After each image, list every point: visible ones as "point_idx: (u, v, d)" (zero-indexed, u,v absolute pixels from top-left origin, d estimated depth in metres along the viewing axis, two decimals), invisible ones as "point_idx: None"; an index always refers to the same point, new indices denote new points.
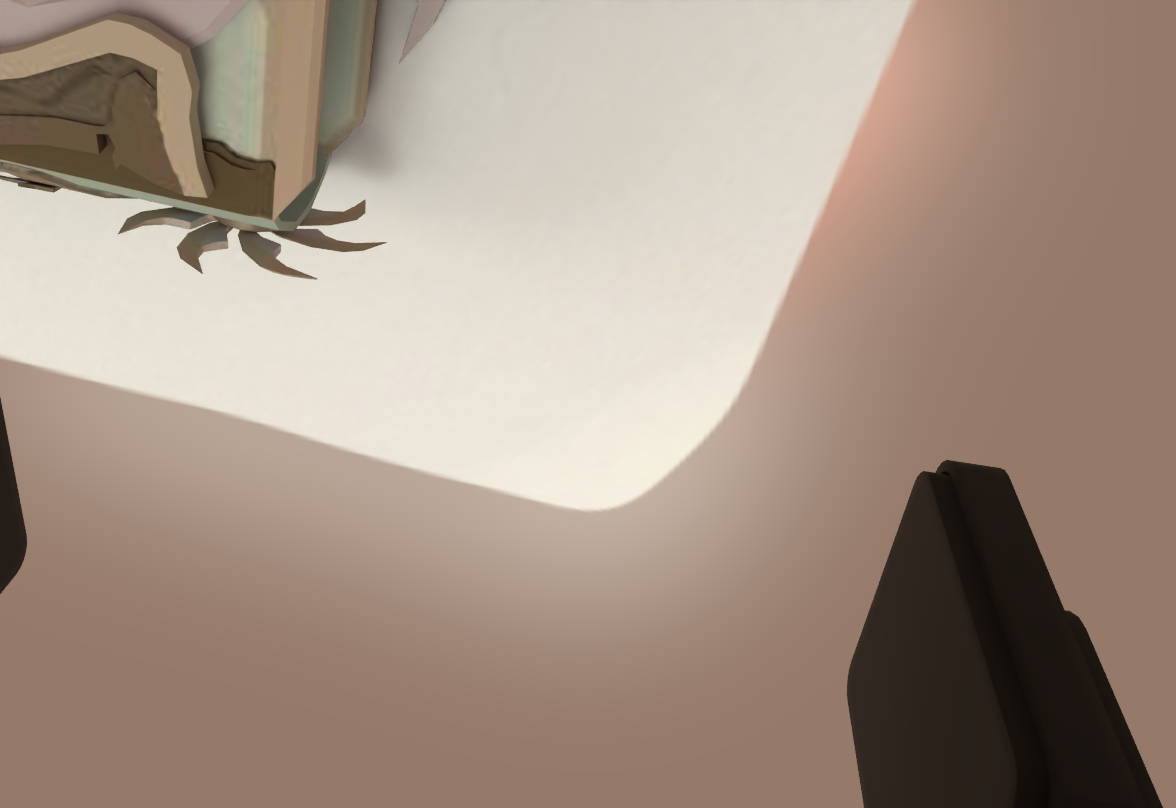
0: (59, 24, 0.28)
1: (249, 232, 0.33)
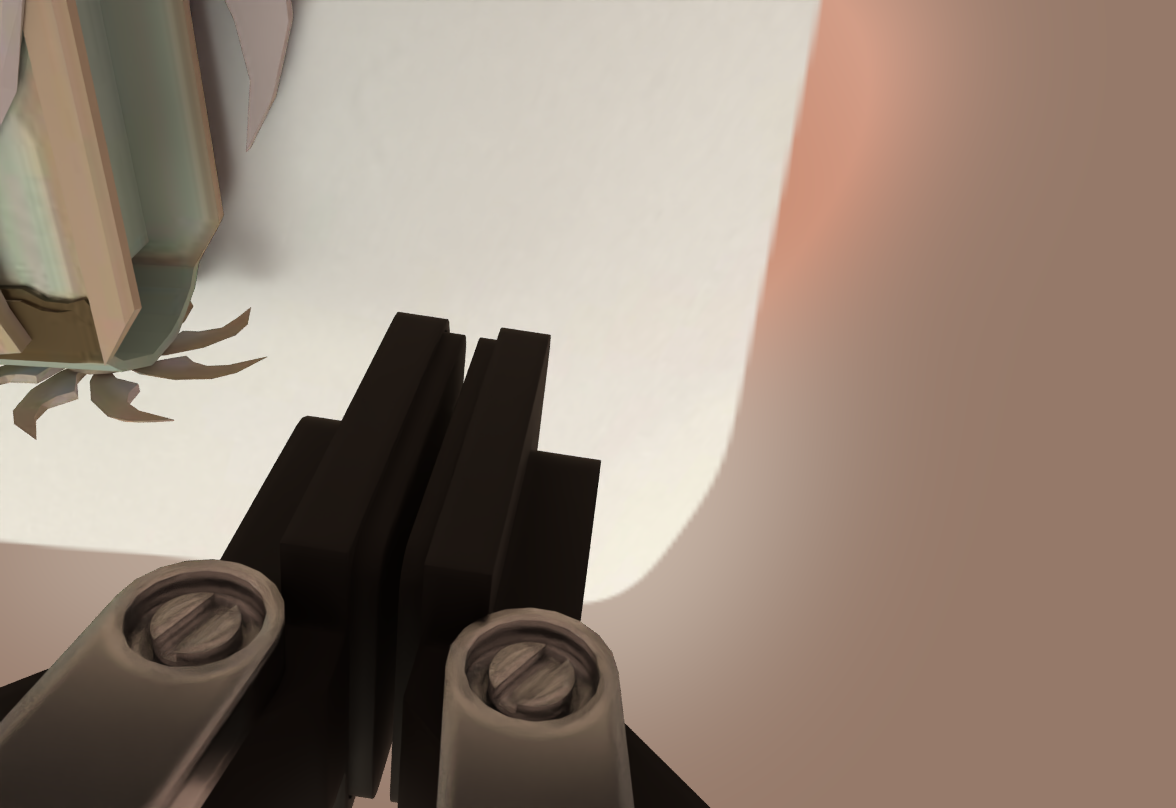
0: None
1: (103, 375, 0.28)
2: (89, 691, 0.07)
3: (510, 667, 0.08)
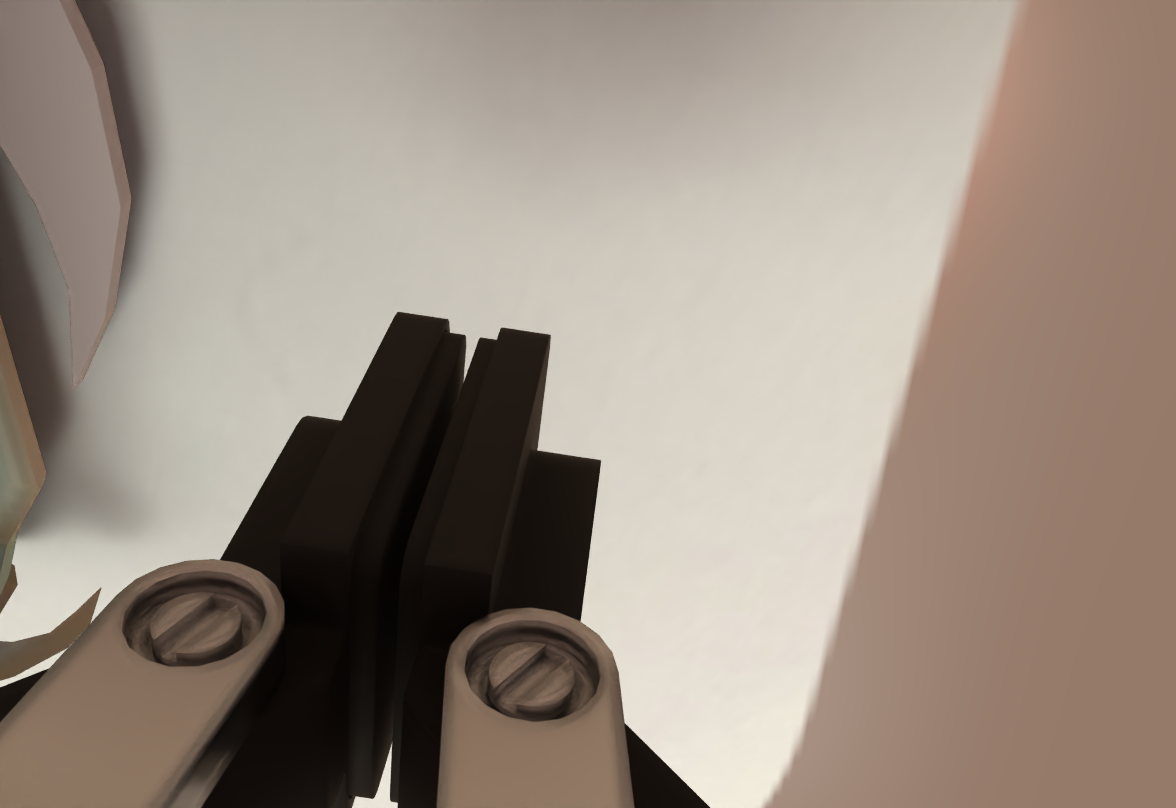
0: None
1: None
2: (89, 692, 0.07)
3: (511, 667, 0.08)
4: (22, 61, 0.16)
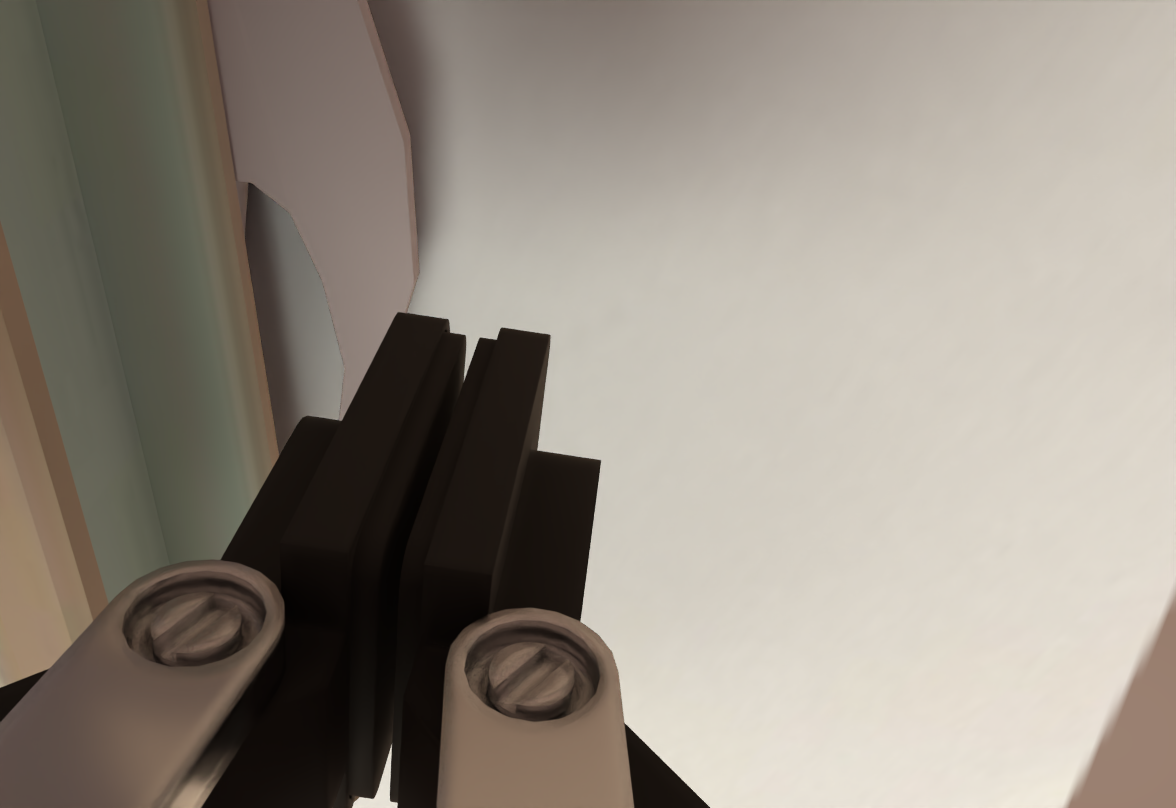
0: None
1: None
2: (89, 691, 0.07)
3: (510, 667, 0.08)
4: (329, 133, 0.15)
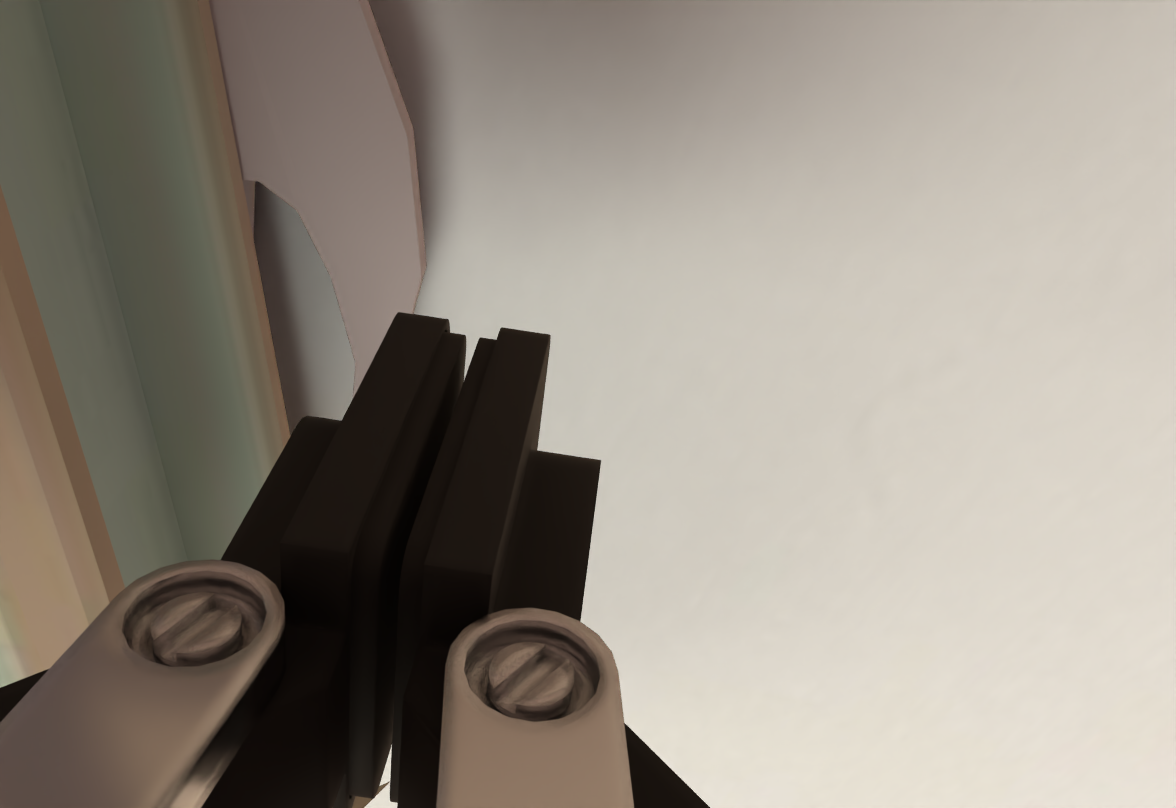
0: None
1: None
2: (89, 691, 0.07)
3: (510, 667, 0.08)
4: (333, 129, 0.15)
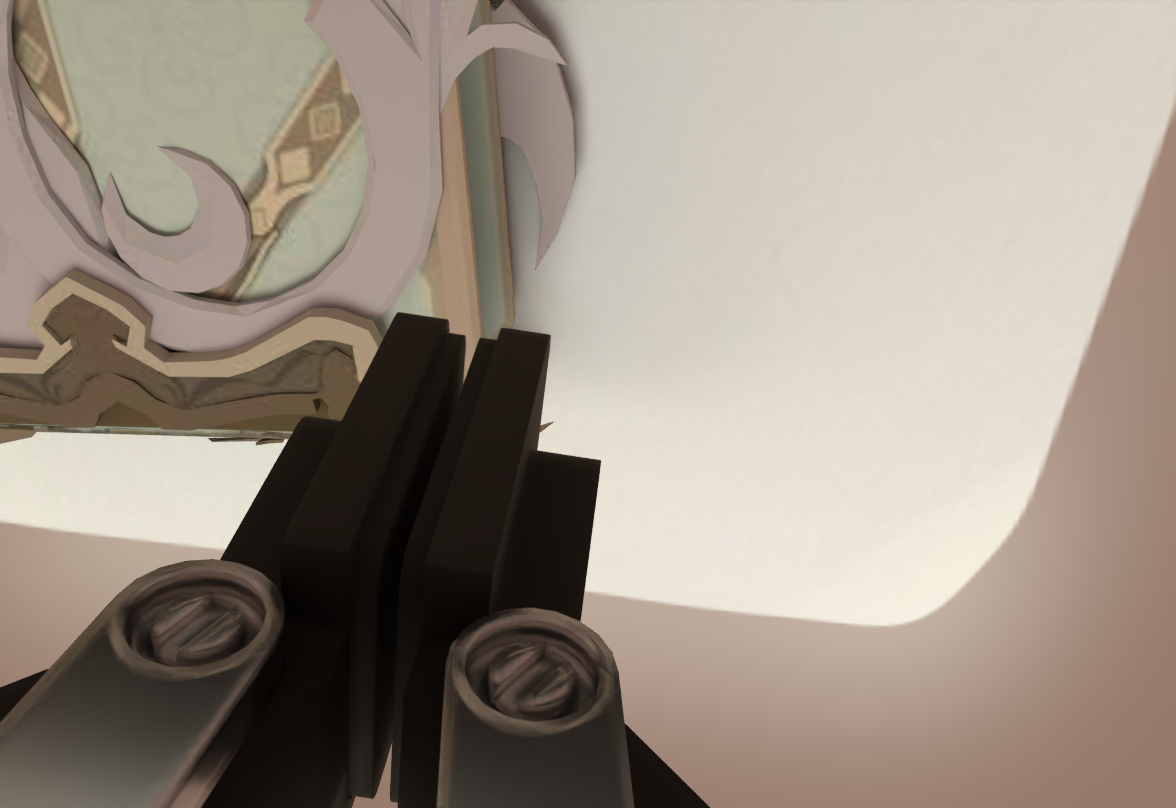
0: (271, 324, 0.34)
1: None
2: (89, 691, 0.07)
3: (510, 667, 0.08)
4: (541, 114, 0.36)
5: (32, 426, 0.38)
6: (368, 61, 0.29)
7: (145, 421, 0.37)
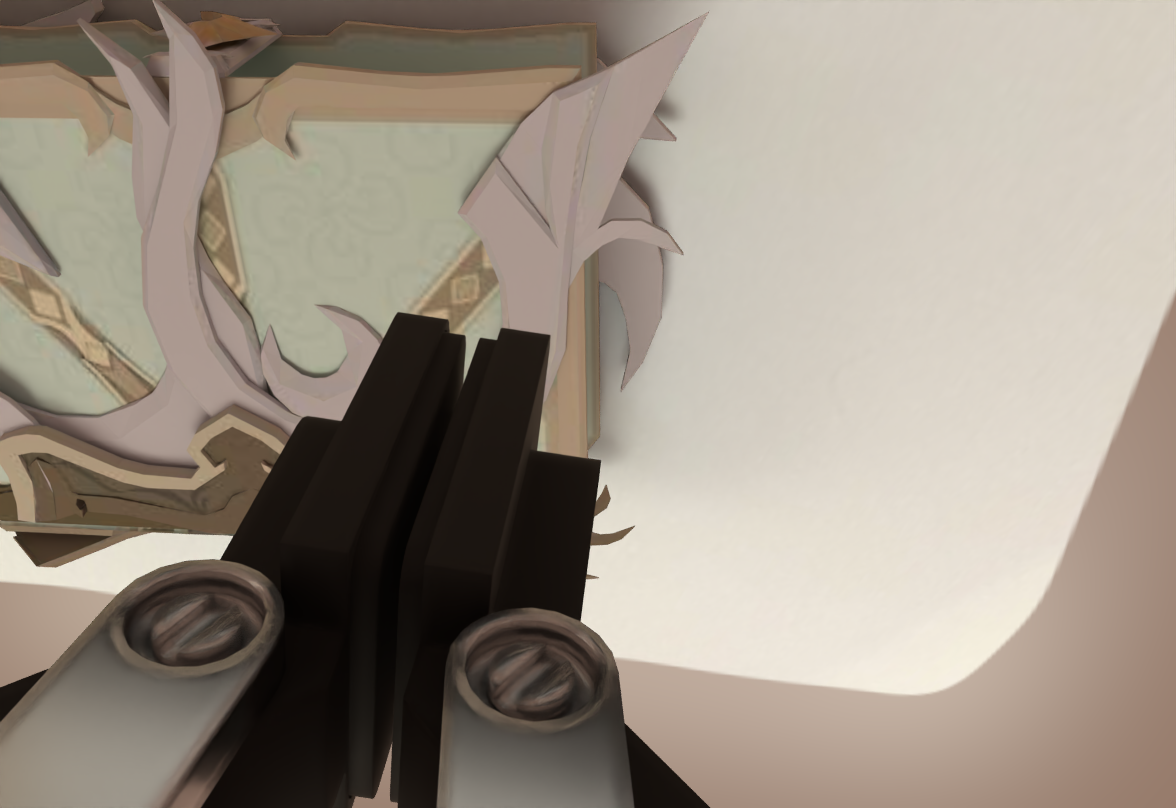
0: None
1: None
2: (89, 691, 0.07)
3: (510, 667, 0.08)
4: (635, 264, 0.41)
5: (173, 528, 0.43)
6: (511, 247, 0.34)
7: None
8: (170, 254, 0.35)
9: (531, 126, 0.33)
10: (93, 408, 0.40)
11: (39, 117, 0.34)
